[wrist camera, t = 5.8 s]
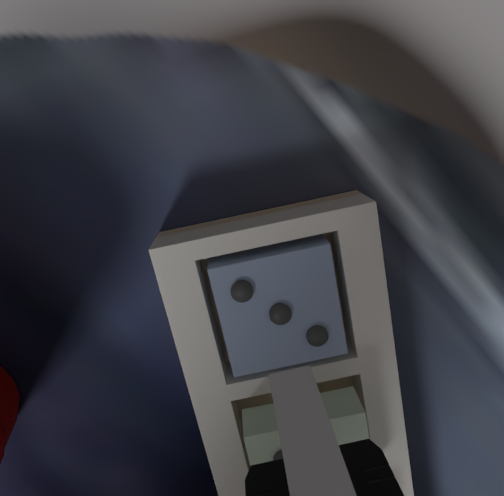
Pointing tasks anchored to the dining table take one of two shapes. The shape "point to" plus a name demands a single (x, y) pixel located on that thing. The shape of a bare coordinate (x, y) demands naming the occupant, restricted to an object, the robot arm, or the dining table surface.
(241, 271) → the tile three
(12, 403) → the plastic cup
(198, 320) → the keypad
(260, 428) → the tile two
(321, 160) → the dining table surface
